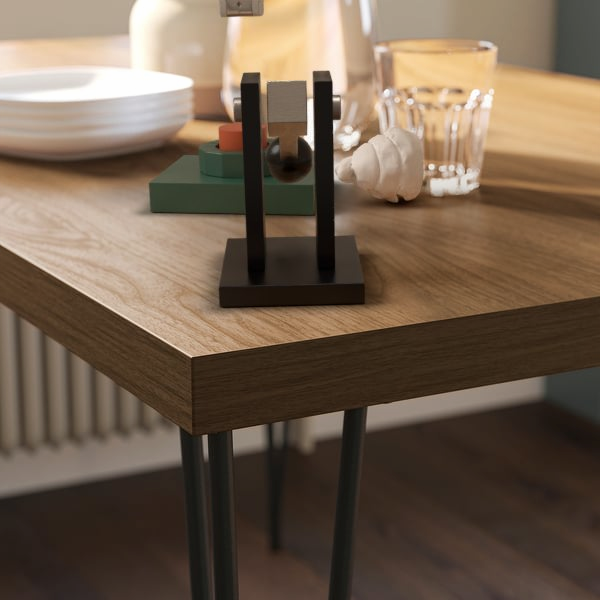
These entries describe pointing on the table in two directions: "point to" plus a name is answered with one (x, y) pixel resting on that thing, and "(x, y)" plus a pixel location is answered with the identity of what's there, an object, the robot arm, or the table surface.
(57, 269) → the table surface
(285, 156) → the lever
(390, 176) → the spiral seashell
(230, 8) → the robot arm
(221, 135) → the button
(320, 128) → the bracket
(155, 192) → the button block
